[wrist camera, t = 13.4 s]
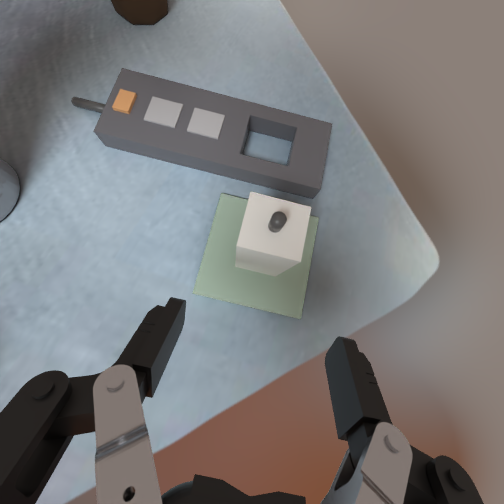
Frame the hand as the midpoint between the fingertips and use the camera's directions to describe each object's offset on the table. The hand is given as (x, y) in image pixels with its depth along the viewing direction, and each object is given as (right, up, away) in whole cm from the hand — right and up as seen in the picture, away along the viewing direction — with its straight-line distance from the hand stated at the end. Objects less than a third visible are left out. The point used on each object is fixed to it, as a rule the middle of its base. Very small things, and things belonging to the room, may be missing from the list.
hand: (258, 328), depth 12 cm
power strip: (-7, +19, +17) cm, 26 cm away
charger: (+1, +4, +14) cm, 15 cm away
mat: (0, +4, +15) cm, 15 cm away
